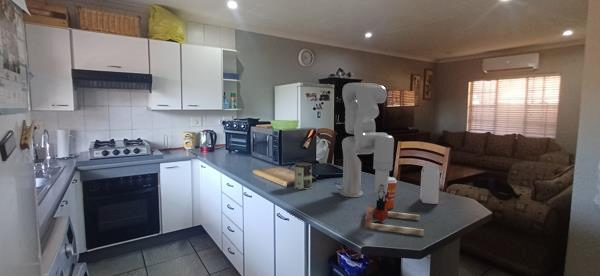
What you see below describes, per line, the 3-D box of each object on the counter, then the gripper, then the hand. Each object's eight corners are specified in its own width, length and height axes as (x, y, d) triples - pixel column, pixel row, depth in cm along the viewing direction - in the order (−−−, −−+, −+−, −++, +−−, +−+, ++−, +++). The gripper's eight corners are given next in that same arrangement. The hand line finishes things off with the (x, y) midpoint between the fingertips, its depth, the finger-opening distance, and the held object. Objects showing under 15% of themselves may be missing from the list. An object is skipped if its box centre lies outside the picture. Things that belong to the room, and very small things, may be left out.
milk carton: (438, 204, 141) (440, 166, 139) (422, 203, 142) (424, 165, 140) (434, 199, 148) (436, 163, 146) (419, 198, 149) (421, 163, 147)
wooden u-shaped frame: (364, 228, 113) (365, 218, 112) (367, 213, 128) (368, 204, 128) (423, 235, 106) (423, 225, 106) (419, 219, 122) (419, 210, 121)
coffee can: (311, 185, 174) (311, 162, 173) (311, 189, 164) (312, 165, 162) (294, 184, 174) (294, 162, 173) (294, 189, 164) (294, 165, 162)
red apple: (371, 219, 121) (372, 201, 121) (384, 219, 122) (385, 200, 121) (376, 224, 116) (376, 205, 115) (390, 224, 116) (390, 205, 115)
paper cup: (387, 210, 132) (388, 181, 130) (375, 205, 138) (376, 177, 137) (399, 208, 135) (400, 179, 134) (387, 203, 142) (388, 175, 141)
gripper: (374, 160, 125) (372, 197, 128) (372, 169, 109) (370, 212, 111) (392, 161, 123) (390, 199, 126) (392, 171, 107) (390, 214, 109)
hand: (380, 205), depth 119 cm, fingers open, 9 cm apart
